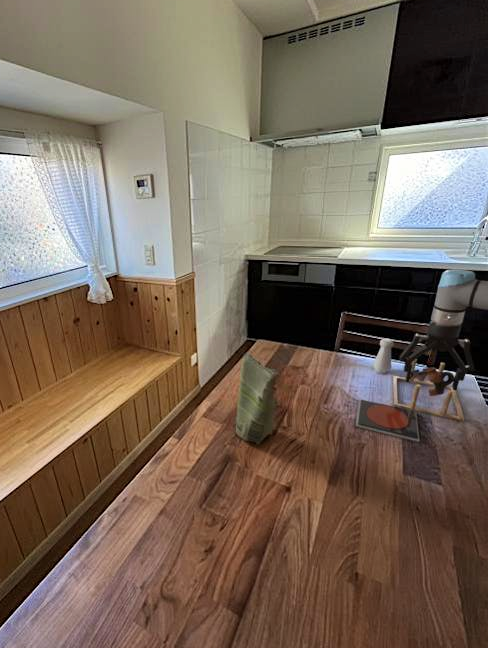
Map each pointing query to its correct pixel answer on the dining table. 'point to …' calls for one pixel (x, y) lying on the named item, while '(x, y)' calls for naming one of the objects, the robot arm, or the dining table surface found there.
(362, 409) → the hob
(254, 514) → the dining table surface
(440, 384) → the pottery mug
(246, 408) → the pouch
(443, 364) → the drying rack
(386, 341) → the salt shaker
